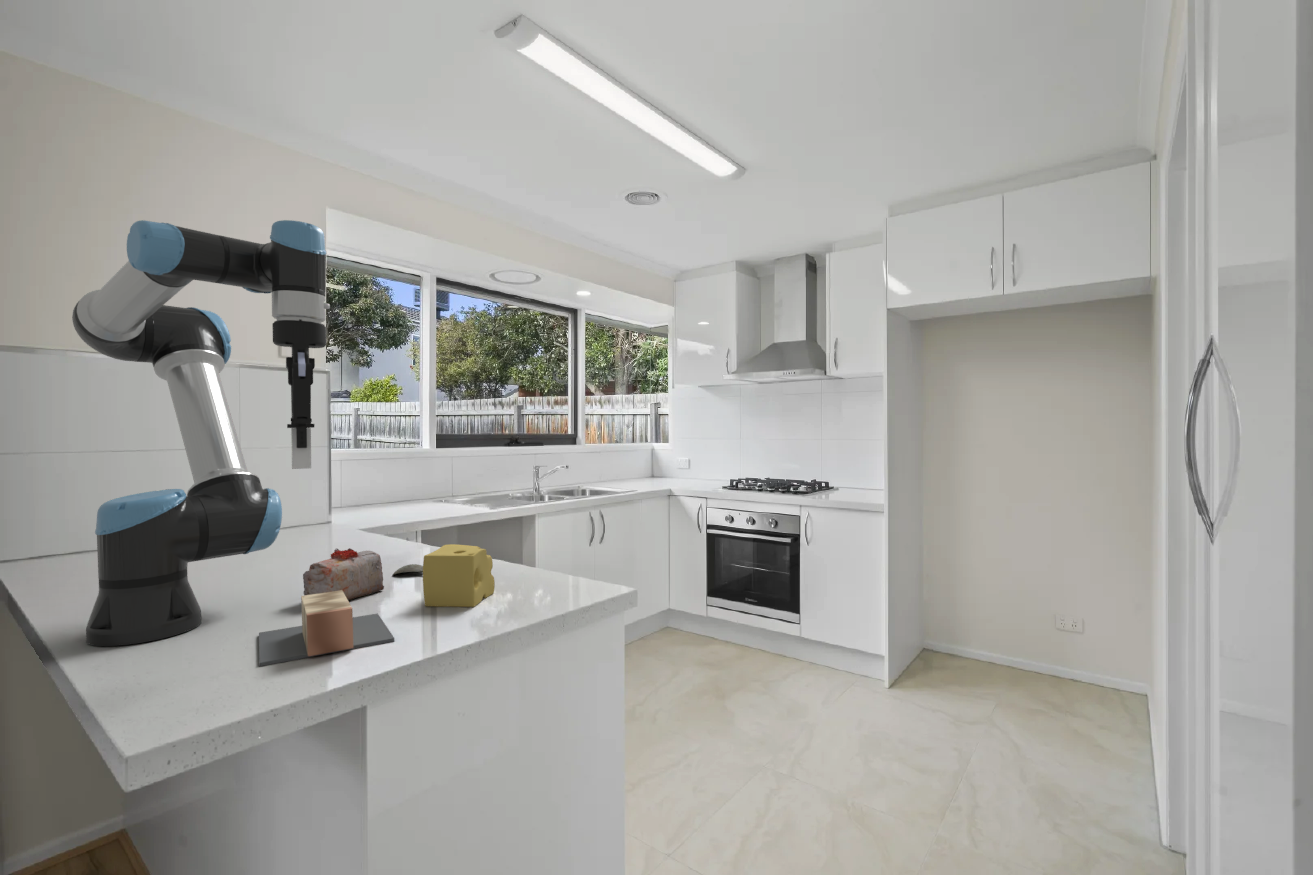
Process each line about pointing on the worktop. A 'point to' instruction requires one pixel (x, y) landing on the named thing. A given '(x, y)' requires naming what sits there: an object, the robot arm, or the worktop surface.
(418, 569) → the soupspoon
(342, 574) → the food item
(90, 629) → the robot arm
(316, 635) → the block
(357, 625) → the mat
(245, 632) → the worktop surface
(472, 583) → the cheese
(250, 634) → the worktop surface
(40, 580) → the worktop surface
